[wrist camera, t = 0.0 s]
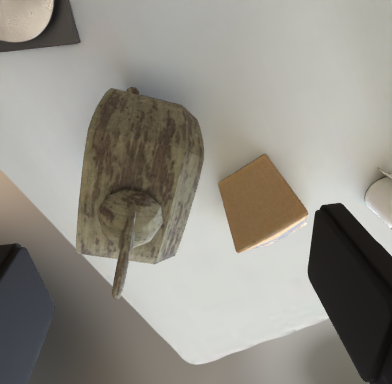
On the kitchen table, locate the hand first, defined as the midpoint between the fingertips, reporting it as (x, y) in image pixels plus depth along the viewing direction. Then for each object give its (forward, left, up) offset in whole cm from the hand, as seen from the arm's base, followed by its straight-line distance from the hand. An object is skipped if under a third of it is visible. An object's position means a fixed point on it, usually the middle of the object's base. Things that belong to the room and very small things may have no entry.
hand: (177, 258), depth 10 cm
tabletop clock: (+7, -4, -31) cm, 32 cm away
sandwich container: (+20, +12, -31) cm, 39 cm away
